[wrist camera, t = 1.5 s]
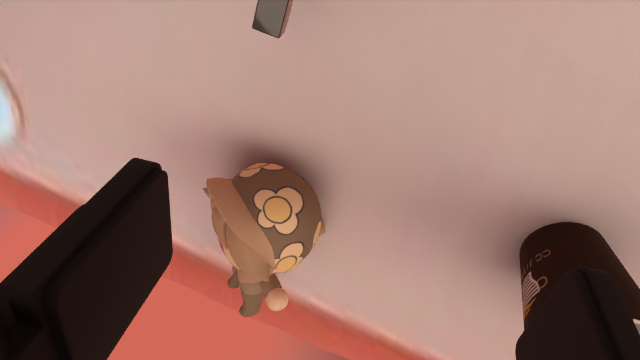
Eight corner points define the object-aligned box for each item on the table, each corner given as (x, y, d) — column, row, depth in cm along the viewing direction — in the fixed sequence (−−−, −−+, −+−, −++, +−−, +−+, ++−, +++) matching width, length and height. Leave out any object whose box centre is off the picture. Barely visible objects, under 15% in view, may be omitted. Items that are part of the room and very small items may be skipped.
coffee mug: (565, 192, 33) (610, 295, 25) (649, 249, 34) (717, 365, 26) (458, 273, 40) (466, 376, 31) (531, 319, 41) (557, 428, 33)
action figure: (172, 266, 41) (192, 143, 32) (276, 242, 47) (318, 133, 38) (207, 365, 36) (244, 250, 26) (320, 324, 42) (382, 219, 32)
